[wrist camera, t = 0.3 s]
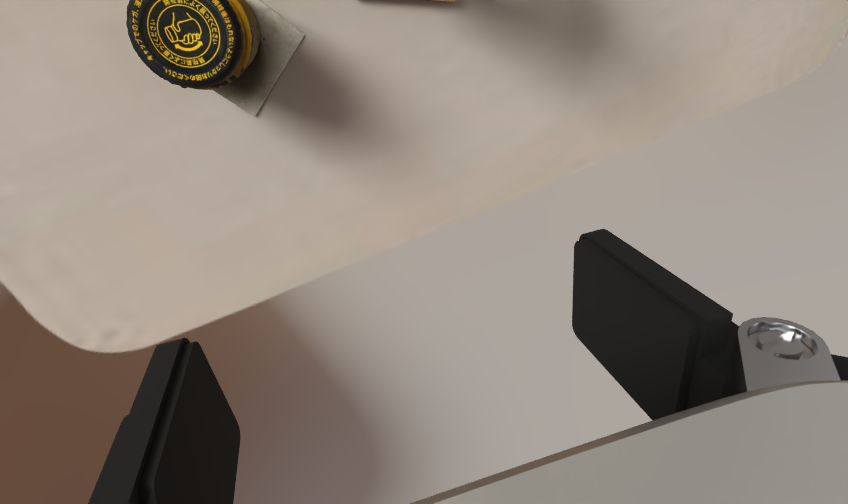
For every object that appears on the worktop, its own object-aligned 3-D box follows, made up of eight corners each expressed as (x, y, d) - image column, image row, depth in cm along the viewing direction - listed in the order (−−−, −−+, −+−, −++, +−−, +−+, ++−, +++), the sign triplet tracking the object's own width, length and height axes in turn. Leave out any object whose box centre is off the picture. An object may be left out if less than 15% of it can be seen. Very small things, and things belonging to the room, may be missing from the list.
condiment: (193, -51, 31) (145, -86, 20) (304, 34, 35) (312, 41, 24) (143, 44, 32) (75, 57, 22) (255, 116, 36) (242, 154, 26)
